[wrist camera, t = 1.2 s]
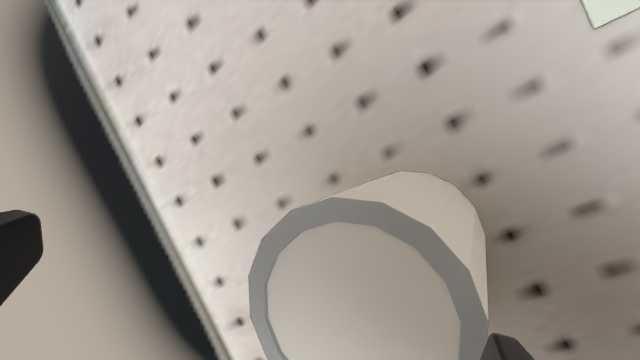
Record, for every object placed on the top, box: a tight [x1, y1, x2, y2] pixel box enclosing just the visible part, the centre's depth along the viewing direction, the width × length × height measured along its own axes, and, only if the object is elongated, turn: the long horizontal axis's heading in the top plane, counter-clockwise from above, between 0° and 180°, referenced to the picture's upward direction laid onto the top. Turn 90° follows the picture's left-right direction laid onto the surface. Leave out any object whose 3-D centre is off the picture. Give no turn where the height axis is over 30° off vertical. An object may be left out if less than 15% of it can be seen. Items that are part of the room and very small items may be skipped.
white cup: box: [248, 171, 488, 360], centre depth 16 cm, size 7×7×7 cm
